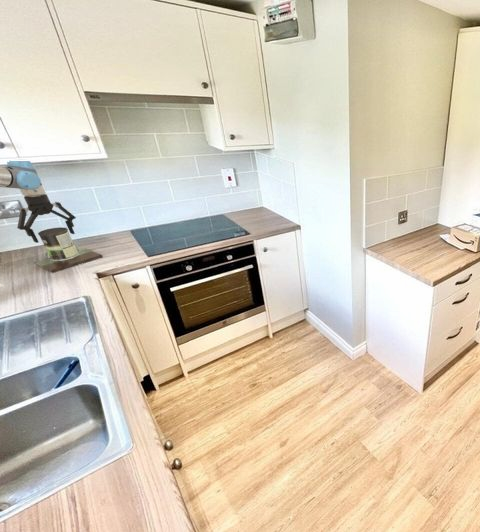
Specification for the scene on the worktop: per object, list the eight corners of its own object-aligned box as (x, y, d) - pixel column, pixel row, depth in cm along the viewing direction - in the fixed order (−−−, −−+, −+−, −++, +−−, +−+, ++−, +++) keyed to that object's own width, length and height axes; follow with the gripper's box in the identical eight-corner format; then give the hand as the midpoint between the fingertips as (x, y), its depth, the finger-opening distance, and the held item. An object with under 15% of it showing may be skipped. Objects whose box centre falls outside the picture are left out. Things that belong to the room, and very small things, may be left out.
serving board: (52, 273, 151) (51, 270, 151) (36, 265, 157) (35, 262, 157) (102, 257, 168) (101, 254, 167) (86, 250, 174) (85, 248, 173)
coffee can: (53, 263, 157) (39, 236, 150) (50, 256, 163) (36, 230, 156) (81, 256, 164) (69, 230, 158) (77, 250, 170) (65, 225, 163)
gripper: (-1, 202, 137) (23, 247, 147) (73, 190, 157) (90, 231, 167) (-8, 199, 140) (16, 244, 149) (65, 188, 160) (82, 228, 170)
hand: (55, 237), depth 158 cm, fingers open, 13 cm apart
